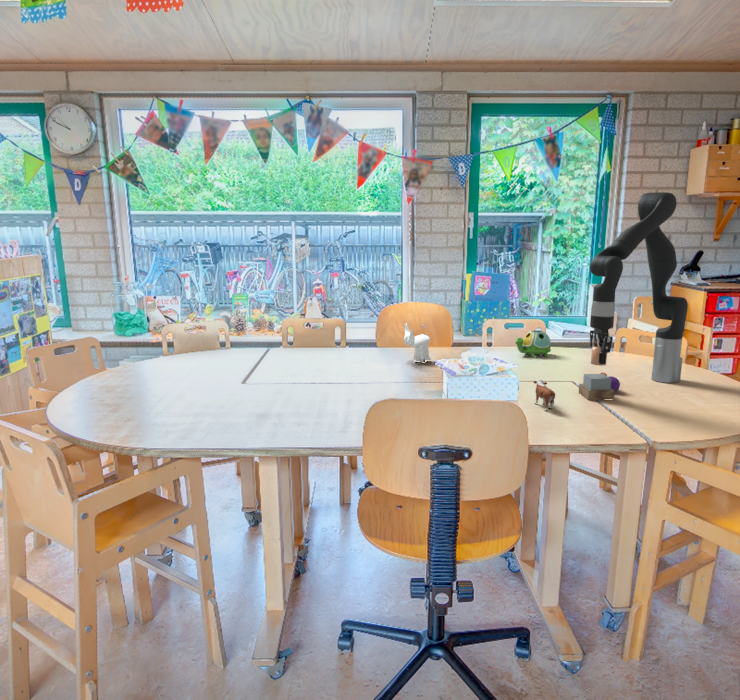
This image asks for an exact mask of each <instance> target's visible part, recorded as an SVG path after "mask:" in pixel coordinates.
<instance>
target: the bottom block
mask: <svg viewBox="0 0 740 700" xmlns="http://www.w3.org/2000/svg"><path fill="white" fill-rule="evenodd" d="M615 393H616V392H615V390H613V389H612V388H611V389H610V390H590V389H588V388H587V387H586V386H584V385H583V383H578V394H579V395H580V394H581V395H580V396H581V397H583V398H584V399H586V400H587V401H605V400H604V399H614V400H615Z"/></svg>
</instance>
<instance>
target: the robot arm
mask: <svg viewBox="0 0 740 700" xmlns="http://www.w3.org/2000/svg"><path fill="white" fill-rule="evenodd" d="M677 205H678V203H677V198H676V196H675V195H674V193H671V192H668V191H667V192H663V191H662V192H659V191H658V192H646V193H643V194H642V195H640V197H639V199H638V203H637V212H638V217H639V221H638V222H636V223H635V224H632V225H631V226H629V227H627V228H626V229H625V230H623V231H622V232H620V234H619V235H618V236H617V237H616V239H615V240H613V242H612V243H611V244H610V245H608V246H607V247H605V248H604V249H603V250H602V251H600V252H598V253H597V254H596V255H595V256H594V257H593V258H592V260H591V262H590V264H589V269H590V273H591V274H592V275H594V276H595V277H602V278H604V280H603V282H602V283H596V284H595V285H594V287H593V292H592V293H593V294H592V304H591V308H590V309H591V310H590V320H589V321H590V322H589V324H590V325H589V327H591V328H592V329H593V330H589V346H590V348H592V346H598V347H599V364H605V363H606V364H607V361H606V353H607V354H608V353H611V349H612V345H613V341H614V340H613V336H610V332H609V330H610V329H613V328H614V324H615V323H614V320H615V314H616V313H615V312H616V305H615V301H616V290H617V287H618V284H619V282H620V279H621V276H622V274H623V271H624V264H623V261H625V260H626V259H627V258H629V256H630V255H631V254H632V253H633V252H634V251H635V250H636V248H638V246H639V245H640V244H641V242H643V241H645V247H646V254H647V255H646V257H647V261H648V262H647V263H648V268H649V273H650V274H649V275H650V281H651V288H652V290H651V291H652V294H651V295H652V310H653V314H654V316H655V317H656V319H659V320H664V321H671V322H670V325H669V326H666V327H662V328H657V329H656V332H655V339H654V349H653V357H652V358H653V360H652V371H651V380H652V381H655V382H659V383H666V384H674V383H675V384H676V383H679V382H681V379H682V378H681V377H682V376H681V374H682V367H683V360H684V359H683V357H681V353H682V345H683V338H684V337H683V336H684V332H685V328H686V319H687V315H688V305H689V304H688V301H687V299H686V297H684V296H683V297H681V296H670V295H667V293H666V290H667V288H666V287H667V285H668V283H669V281H670V279H671V278H672V276H673V274H674V273H675V272H676V269H677V266H678V262H677V255H676V249H675V246H674V244H673V243H672V242H671V240H670V239H669V238H668V237H667V235H666V234H665V233H664V232H663V230H662V229H661V227H660V226H661V225H662V224H664V223H666V222H667V220H669V218H671V217H672V216H673V214H674V213H675V211H676V209H677Z"/></svg>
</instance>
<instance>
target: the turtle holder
mask: <svg viewBox="0 0 740 700" xmlns="http://www.w3.org/2000/svg"><path fill="white" fill-rule="evenodd" d="M515 344H516V348H517V350H518V352H520V353H521V354H524V353H527V354H530V357H531V358H533V357H537V358H538V356H537V354H539V355H543V357H545V356H547V357H548V356H549V357H550V354H548V353H550V352H551V351H552V349H551V348H552V342H551V338H550V337H549V335H548V334H547V332H546V331H545V330H542V329H539V330H537V329H536V330H534V329H533V330H532V329H531V330H529V331H528V333H527V334H525V336H524V338H522V337H520V336H518V337H517V338H516V340H515ZM547 357H546V358H547ZM549 357H548V358H549Z"/></svg>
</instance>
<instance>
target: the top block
mask: <svg viewBox="0 0 740 700" xmlns="http://www.w3.org/2000/svg"><path fill="white" fill-rule="evenodd" d="M582 384H583V385H584V386H586V387H587V388H588V389H590V390H610V389H611V378H609V376H608V375H607V376H606V375H604V374H600V373H584V374H583V383H582Z"/></svg>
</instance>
